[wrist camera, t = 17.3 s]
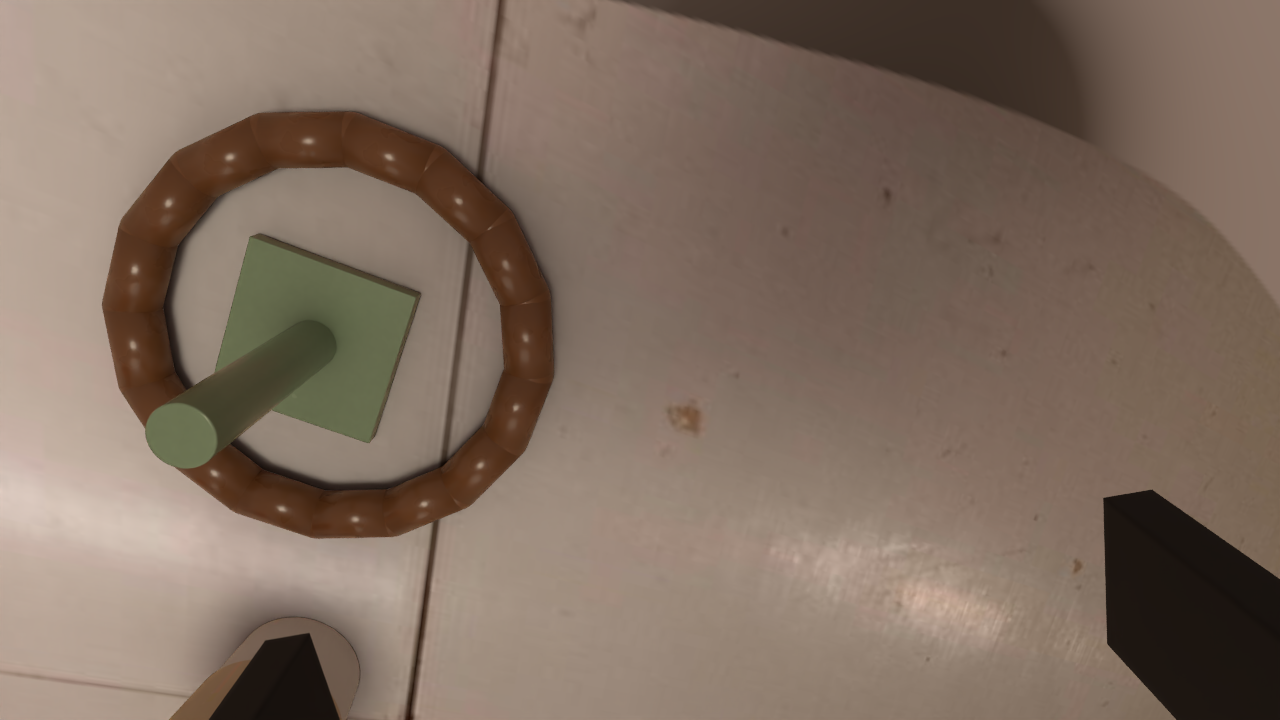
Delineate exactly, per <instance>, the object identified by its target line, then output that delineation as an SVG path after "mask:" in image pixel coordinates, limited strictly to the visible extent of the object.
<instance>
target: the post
mask: <svg viewBox="0 0 1280 720" xmlns="http://www.w3.org/2000/svg"><path fill="white" fill-rule="evenodd" d="M420 295H421V294H420V293H418V292H416V291H413V290H410V289H407V288H405V287H402V286H399V285H397V284H394V283H391V282H388V281H386V280H383V279H380V278H378V277H375V276H372V275H370V274H367V273H364V272H361V271H359V270H356V269H353V268H351V267H348V266H345V265H342V264H340V263H337V262H334V261H332V260H329V259H326V258H323V257H321V256H318V255H315V254H313V253H310V252H307V251H305V250H302V249H299V248H296V247H294V246H291V245H288V244H286V243H283V242H280V241H277V240H275V239H272V238H269V237H267V236H264V235H261V234H257V235H253V236H250V238H249V242H248V246H247V250H246V254H245V257H244V261H243V265H242V269H241V273H240V277H239V280H238V284H237V288H236V292H235V296H234V300H233V303H232V307H231V311H230V315H229V319H228V323H227V326H226V330H225V334H224V338H223V342H222V346H221V349H220V353H219V357H218V361H217V365H216V369H215V372H214V374H212V375H211V376H209V377H207V378H206V379H204V380H202V381H201V382H199V383H197V384H196V385H194V386H193V387H191V388H189V389H188V390H186V391H184V392H183V393H181V394H179V395H178V396H176V397H175V398H173V399H171V400H170V401H168V402H166V403H165V404H163V405H161V406H160V407H158V408H157V409H155V410H154V411H153V412H152V413H151V415H150V416H149V418H148V420H147V423H146V428H145V434H146V439H147V443H148V445H149V447H150V449H151V450H152V451H153V453H154V454H155V455H156V456H157V457H158V458H159V459H160V460H162V461H163V462H165V463H167V464H169V465H171V466H174V467H177V468H187V469H188V468H195V467H199V466H202V465H203V464H205V463H207V462H208V461H209V460H211V459H212V458H213V457H214V456H215V455H217V454H218V453H219V452H220V451H222V450H223V449H224V448H225V447H227V446H228V445H229V444H230V443H231V442H233V441H234V440H235V439H236V438H238V437H239V436H240V435H241V434H242V433H244V432H245V431H246V430H247V429H249V428H250V427H251V426H252V425H254V424H255V423H256V422H257V421H258V420H260V419H261V418H262V417H263V416H265V415H266V414H267V413H268V412H269V411H271V410H273V411H276V412H279V413H281V414H284V415H287V416H290V417H293V418H296V419H299V420H302V421H305V422H308V423H311V424H314V425H316V426H319V427H322V428H325V429H328V430H331V431H334V432H337V433H340V434H343V435H346V436H349V437H352V438H354V439H357V440H360V441H363V442H366V443H370V442H371V440H372V439H373V438H374V436H375V434H376V431H377V428H378V425H379V422H380V419H381V416H382V412H383V409H384V406H385V403H386V400H387V397H388V394H389V391H390V388H391V385H392V382H393V379H394V376H395V372H396V369H397V366H398V363H399V360H400V357H401V354H402V351H403V348H404V345H405V342H406V339H407V336H408V332H409V329H410V326H411V323H412V320H413V317H414V314H415V311H416V308H417V305H418V302H419V299H420Z"/></svg>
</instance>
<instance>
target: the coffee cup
mask: <svg viewBox="0 0 1280 720" xmlns="http://www.w3.org/2000/svg"><path fill="white" fill-rule="evenodd" d="M305 633H310V635H311V638H312V641H313V644H314V647H315V650H316V653H317V655H318V658H319V661H320V664H321V667H322V670H323V673H324V675H325V678H326V681H327V684H328V687H329V690H330V693H331V695H332V698H333V701H334V704H335V707H336V710H337V713H338V715H339V718H340V720H346V719H347V716H348V714H349V711H350V708H351V705H352V702H353V699H354V696H355V693H356V690H357V687H358V684H359V678H360V669H359V663H358V659H357V657H356V654H355V652H354V650H353V648H352V647H351V645H350V644H349V643H348V641H347V640H346V639H345V638H344V637H343V636H342V635H341V634H339V633H338V632H337V631H336V630H334V629H333V628H331V627H329V626H327V625H325V624H323V623H321V622H318V621H315V620H312V619H307V618H299V617H288V618H281V619H276V620H273V621H270V622H268V623H266V624H264V625H262V626H260V627H259V628H257V629H256V630H255V631H253V632H252V633H251V634H250V635H249V636H248V638H247V639H246V640H245V641H244V642H243V643H242V644H241V645H240V646H239V648H238V649H237V650H236V651H235V652H234V653H233V654H232V655H231V656H230V658H229V659H228V660H227V661H226V662H225V663H224V664H223V665H222V666H221V668H220V669H219V670H218V671H216V672H215V673H213V674H212V675H211V676H210V677H209V678H208V679H206V680H205V682H204V683H203V684H202V685H201V686H200V687H199V688H198V689H197V690H196V691H195V692H194V693H193V694H192V696H191V697H190V698H189V699H188V700H187V701H186V702H185V703H184V704H183V705H182V706H181V707H180V708H179V710H178V711H177V712H176V713H175V714H174V715H173V716H172V717H171V718H170V719H169V720H209V718H210V717H211V716H212V714H213V713H214V711H215V710H216V709H217V707H218V706H219V704H220V703H221V702H222V700H223V699H224V697H225V696H226V695H227V693H228V692H229V690H230V689H231V688H232V686H233V685H234V683H235V682H236V681H237V679H238V678H239V676H240V675H241V674H242V672H243V671H244V669H245V668H246V667H247V665H248V664H249V662H250V661H251V660H252V658H253V657H254V655H255V654H256V653H257V651H258V650H259V648H260V647H261V646H262V644H263V643H264V641H265V640H270V639H276V638H282V637H288V636H293V635H299V634H305Z"/></svg>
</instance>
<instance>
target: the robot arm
mask: <svg viewBox="0 0 1280 720" xmlns="http://www.w3.org/2000/svg"><path fill="white" fill-rule="evenodd" d="M1103 501H1104V539H1105V577H1106V615H1107V644H1108V645H1109V646H1110V648H1111V649H1112V650H1113V651H1114V652H1115V653H1116V654H1117V655H1118V656H1119V657H1120V658H1121V660H1122V661H1123V662H1124V663H1125V664H1126V665H1127V666H1128V667H1129V668H1130V669H1131V670H1132V672H1133V673H1134V674H1135V675H1136V676H1137V677H1138V678H1139V679H1140V680H1141V681H1142V682H1143V684H1144V685H1145V686H1146V687H1147V688H1148V689H1149V690H1150V691H1151V692H1152V693H1153V694H1154V696H1155V697H1156V698H1157V699H1158V700H1159V701H1160V702H1161V703H1162V704H1163V705H1164V706H1165V708H1166V709H1167V710H1168V711H1169V712H1170V713H1171V714H1172V715H1173V716H1174V717H1175V718H1176V720H1280V579H1279V578H1277V577H1276V576H1274V575H1273V574H1272V573H1270V572H1269V571H1267V570H1266V569H1264V568H1263V567H1262V566H1260V565H1259V564H1257V563H1256V562H1254V561H1253V560H1252V559H1250V558H1249V557H1247V556H1246V555H1244V554H1243V553H1242V552H1240V551H1239V550H1237V549H1236V548H1234V547H1233V546H1232V545H1230V544H1229V543H1227V542H1226V541H1224V540H1223V539H1222V538H1220V537H1219V536H1217V535H1216V534H1214V533H1213V532H1212V531H1210V530H1209V529H1207V528H1206V527H1204V526H1203V525H1202V524H1200V523H1199V522H1197V521H1196V520H1194V519H1193V518H1192V517H1190V516H1189V515H1187V514H1186V513H1184V512H1183V511H1182V510H1180V509H1179V508H1177V507H1176V506H1174V505H1173V504H1172V503H1170V502H1169V501H1167V500H1166V499H1164V498H1163V497H1162V496H1160V495H1159V494H1157V493H1156V492H1154V491H1153V490H1147V491H1141V492H1136V493H1130V494H1124V495H1118V496H1112V497H1106V498H1103ZM209 720H340V718H339V715H338V713H337V710H336V707H335V704H334V701H333V698H332V695H331V693H330V690H329V687H328V684H327V681H326V678H325V675H324V673H323V670H322V667H321V664H320V661H319V658H318V655H317V653H316V650H315V647H314V644H313V641H312V638H311V635H310V633H305V634H299V635H293V636H288V637H282V638H276V639H270V640H265V641H264V643H263V644H262V646H261V647H260V648H259V650H258V651H257V653H256V654H255V655H254V657H253V658H252V660H251V661H250V662H249V664H248V665H247V667H246V668H245V669H244V671H243V672H242V674H241V675H240V676H239V678H238V679H237V681H236V682H235V683H234V685H233V686H232V688H231V689H230V690H229V692H228V693H227V695H226V696H225V697H224V699H223V700H222V702H221V703H220V704H219V706H218V707H217V709H216V710H215V711H214V713H213V714H212V716H211V717H210V718H209Z"/></svg>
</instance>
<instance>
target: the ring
mask: <svg viewBox="0 0 1280 720" xmlns="http://www.w3.org/2000/svg"><path fill="white" fill-rule="evenodd" d="M333 167H349V168H351V169H354V170H356V171H359V172H361V173H364V174H367V175H369V176H372V177H374V178H377V179H379V180H382V181H384V182H387V183H390V184H392V185H395V186H397V187H400V188H402V189H405V190H408V191H410V192H413V193H415V194H417V195H418V196H419V197H420V198H421V199H422V200H423V201H424V202H425V203H427V204H428V205H429V206H430V207H431V208H432V209H433V210H434V211H435V212H436V213H438V214H439V215H440V216H441V217H442V218H443V219H444V220H445V221H446V222H447V223H448V224H450V225H451V226H452V227H453V228H454V229H455V230H456V231H457V232H458V233H459V234H461V235H462V236H463V237H464V238H465V239H466V240H467V241H468V242H469V243H470V245H471V247H472V249H473V251H474V253H475V255H476V257H477V259H478V261H479V263H480V265H481V267H482V269H483V271H484V273H485V275H486V277H487V279H488V281H489V283H490V285H491V287H492V290H493V292H494V294H495V296H496V298H497V300H498V302H499V304H500V312H501V328H502V344H503V359H504V370H503V373H502V376H501V378H500V381H499V384H498V387H497V389H496V392H495V395H494V397H493V400H492V403H491V406H490V408H489V411H488V414H487V417H486V419H485V422H484V425H483V426H482V427H481V428H480V429H479V430H478V431H477V432H476V433H475V434H474V435H473V436H472V437H471V438H470V439H469V440H468V441H467V442H466V443H465V444H464V445H463V446H462V447H461V448H460V449H459V450H458V451H457V452H456V453H455V454H454V455H453V456H452V458H451V459H450V460H449V461H448V462H447V463H446V464H445V465H444V466H442V467H440V468H438V469H435V470H433V471H430V472H428V473H426V474H423V475H421V476H419V477H416V478H414V479H411V480H409V481H407V482H404V483H402V484H399V485H397V486H395V487H392V488H390V489H376V490H332V491H325V490H322V489H319V488H316V487H313V486H310V485H308V484H305V483H302V482H299V481H296V480H293V479H290V478H287V477H284V476H281V475H278V474H275V473H272V472H269V471H266V470H263V469H262V468H261V467H259V466H258V465H257V464H256V463H254V462H253V461H252V460H250V459H249V458H248V457H247V456H245V455H244V454H243V453H241V452H240V451H239V450H238V449H236V448H235V447H234V446H232V445H231V444H229V445H228V446H227V447H225V448H224V449H223V450H222V451H220V452H219V453H218V454H217V455H215V456H214V457H213V458H212V459H211V460H209V461H208V462H207V463H205V464H203V465H202V466H199V467H195V468H188V469H187V468H177V467H175V468H176V469H178V470H179V471H180V472H182V473H183V474H184V475H186V476H187V477H188V478H190V479H191V480H192V481H193V482H195V483H196V484H197V485H199V486H200V487H201V488H203V489H204V490H205V491H207V492H208V493H209V494H211V495H212V496H213V497H215V498H216V499H217V500H219V501H220V502H221V503H222V504H224V505H225V506H226V507H228V508H229V509H230V510H232V511H233V512H235V513H238V514H241V515H244V516H247V517H250V518H253V519H256V520H259V521H262V522H265V523H268V524H271V525H274V526H277V527H280V528H283V529H286V530H289V531H292V532H295V533H299V534H302V535H305V536H308V537H311V538H318V539H323V538H365V537H394V536H399V535H402V534H404V533H406V532H409V531H411V530H414V529H416V528H419V527H421V526H424V525H426V524H428V523H431V522H433V521H436V520H438V519H441V518H443V517H445V516H448V515H450V514H453V513H455V512H458V511H460V510H462V509H465V508H467V507H469V506H470V505H471V504H473V503H474V502H475V501H476V500H477V499H478V498H479V497H480V496H481V495H482V494H483V493H484V492H485V491H486V490H487V489H488V488H489V487H490V486H491V485H492V484H493V483H494V482H495V481H496V480H497V479H498V478H499V477H500V476H501V475H502V474H503V473H504V472H505V471H506V470H507V469H508V468H509V467H510V466H511V465H512V464H513V463H514V462H515V461H516V460H517V459H518V458H519V457H520V456H521V455H522V454H523V452H524V451H525V450H526V448H527V446H528V443H529V440H530V438H531V435H532V433H533V430H534V427H535V425H536V422H537V420H538V417H539V414H540V412H541V409H542V407H543V404H544V402H545V399H546V396H547V394H548V391H549V389H550V386H551V383H552V381H553V377H554V359H553V337H552V315H551V296H550V291H549V288H548V286H547V284H546V282H545V280H544V278H543V276H542V273H541V271H540V269H539V267H538V265H537V263H536V261H535V259H534V256H533V254H532V252H531V250H530V248H529V246H528V244H527V242H526V239H525V237H524V235H523V233H522V231H521V229H520V227H519V225H518V222H517V220H516V218H515V216H514V214H513V213H512V211H511V210H510V209H509V208H508V207H507V206H506V205H505V204H504V203H503V202H502V201H500V200H499V199H498V198H497V197H496V196H495V195H494V194H493V193H492V192H491V191H490V190H489V189H488V188H487V187H486V186H485V185H483V184H482V183H481V182H480V181H479V180H478V179H477V178H476V177H475V176H474V175H473V174H472V173H471V172H470V171H469V170H467V169H466V168H465V167H464V166H463V165H462V164H461V163H460V162H459V161H458V160H457V159H456V158H455V157H454V156H453V155H451V154H450V153H449V152H448V151H447V150H446V149H444V148H443V147H441V146H439V145H437V144H434V143H432V142H429V141H427V140H424V139H422V138H419V137H417V136H414V135H412V134H409V133H407V132H404V131H402V130H399V129H397V128H394V127H392V126H389V125H387V124H384V123H382V122H379V121H377V120H374V119H372V118H369V117H367V116H364V115H362V114H359V113H355V112H348V111H347V112H274V113H258V114H255V115H252V116H250V117H248V118H246V119H244V120H242V121H240V122H237V123H235V124H233V125H231V126H229V127H227V128H225V129H223V130H220V131H218V132H216V133H214V134H212V135H210V136H208V137H206V138H203V139H201V140H199V141H197V142H195V143H193V144H191V145H189V146H187V147H184V148H182V149H180V150H178V151H177V152H175V153H174V154H173V155H172V156H171V157H170V159H169V160H168V161H167V163H166V164H165V165H164V166H163V168H162V169H161V170H160V171H159V173H158V174H157V175H156V176H155V178H154V179H153V180H152V181H151V183H150V184H149V185H148V186H147V188H146V189H145V190H144V191H143V193H142V194H141V195H140V196H139V198H138V199H137V200H136V201H135V203H134V204H133V205H132V206H131V208H130V209H129V210H128V211H127V213H126V214H125V215H124V216H123V218H122V220H121V221H120V224H119V228H118V233H117V237H116V242H115V246H114V251H113V255H112V260H111V264H110V269H109V273H108V278H107V282H106V287H105V292H104V296H103V302H102V308H103V313H104V318H105V323H106V328H107V333H108V338H109V343H110V347H111V352H112V357H113V362H114V367H115V372H116V377H117V381H118V386H119V389H120V391H121V392H122V394H123V395H124V397H125V399H126V400H127V402H128V403H129V405H130V406H131V408H132V409H133V411H134V412H135V414H136V415H137V417H138V418H139V420H140V422H141V423H142V425H143V426H144V428H146V423H147V420H148V418H149V416H150V415H151V413H152V412H153V411H154V410H155V409H157V408H158V407H160V406H161V405H163V404H165V403H166V402H168V401H170V400H171V399H173V398H175V397H176V396H178V395H179V394H181V393H183V392H184V391H186V388H185V387H184V385H183V384H182V382H181V380H180V379H179V377H178V376H177V374H176V373H175V369H174V364H173V359H172V353H171V348H170V342H169V337H168V331H167V326H166V321H165V315H164V310H163V305H164V301H165V297H166V293H167V289H168V284H169V280H170V276H171V272H172V268H173V264H174V260H175V256H176V251H177V247H178V245H179V243H180V242H181V241H182V240H183V238H184V237H185V236H186V235H187V234H188V232H189V231H190V230H191V229H192V227H193V226H194V225H195V224H196V223H197V221H198V220H199V219H200V218H201V217H202V215H203V214H204V213H205V212H206V210H207V209H208V208H209V207H210V206H211V204H212V203H213V202H214V201H215V200H216V198H217V197H218V196H220V195H222V194H224V193H226V192H228V191H230V190H233V189H235V188H237V187H239V186H241V185H243V184H245V183H248V182H250V181H252V180H254V179H256V178H258V177H261V176H263V175H265V174H267V173H269V172H271V171H274V170H276V169H278V168H333Z"/></svg>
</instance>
